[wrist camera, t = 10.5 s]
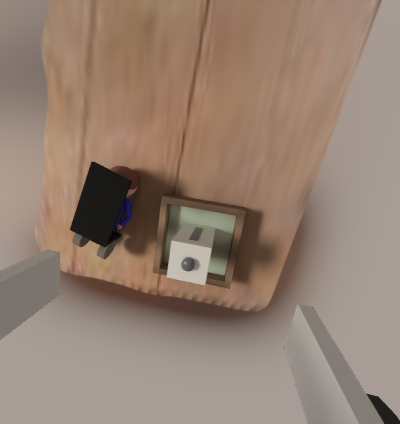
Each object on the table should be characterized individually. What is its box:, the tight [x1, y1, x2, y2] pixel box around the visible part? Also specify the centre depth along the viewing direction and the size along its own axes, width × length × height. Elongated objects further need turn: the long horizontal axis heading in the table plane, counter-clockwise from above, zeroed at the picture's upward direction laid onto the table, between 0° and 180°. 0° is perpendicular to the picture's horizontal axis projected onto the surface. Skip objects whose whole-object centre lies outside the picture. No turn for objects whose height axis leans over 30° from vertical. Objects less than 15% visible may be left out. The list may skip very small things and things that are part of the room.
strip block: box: [167, 223, 216, 285], centre depth 29 cm, size 5×5×10 cm
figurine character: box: [70, 162, 138, 259], centre depth 33 cm, size 7×8×15 cm
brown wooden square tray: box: [153, 194, 246, 289], centre depth 34 cm, size 13×13×3 cm
